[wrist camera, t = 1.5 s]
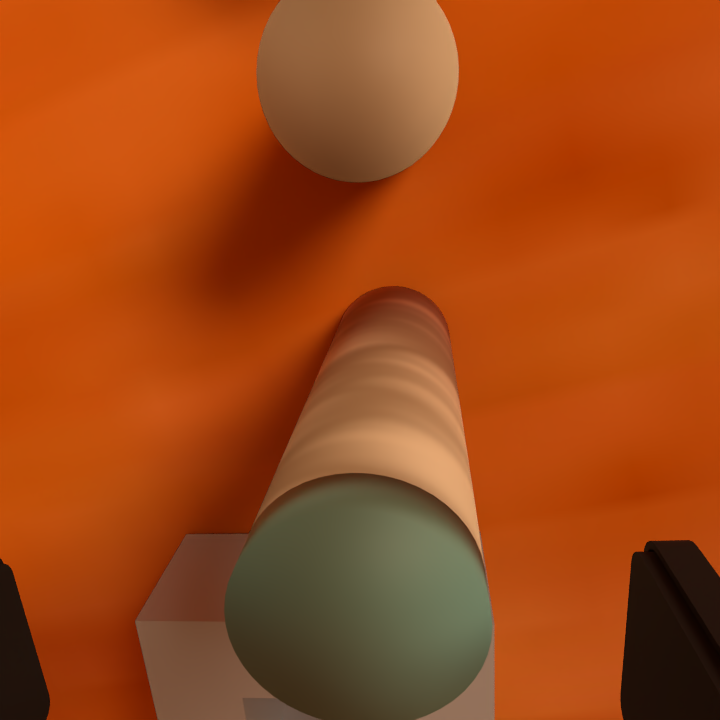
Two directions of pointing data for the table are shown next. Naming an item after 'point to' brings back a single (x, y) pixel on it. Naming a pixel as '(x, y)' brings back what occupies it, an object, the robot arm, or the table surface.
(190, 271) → the table surface
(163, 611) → the socket block
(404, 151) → the medium dowel
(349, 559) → the long dowel
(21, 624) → the robot arm
